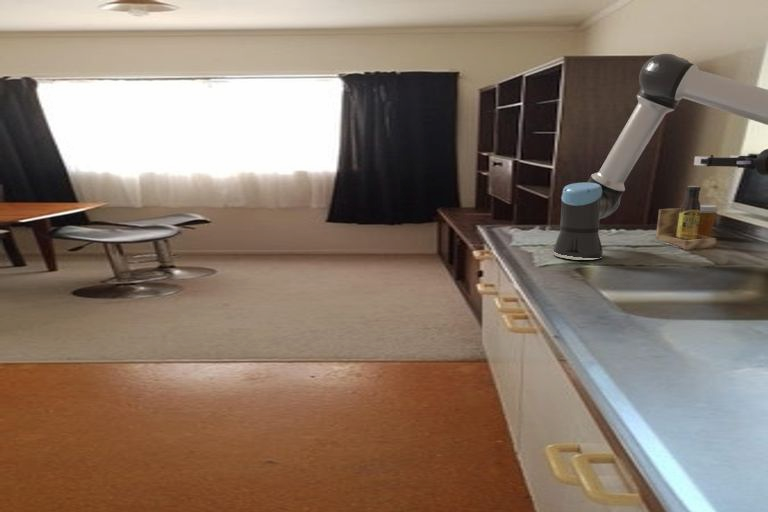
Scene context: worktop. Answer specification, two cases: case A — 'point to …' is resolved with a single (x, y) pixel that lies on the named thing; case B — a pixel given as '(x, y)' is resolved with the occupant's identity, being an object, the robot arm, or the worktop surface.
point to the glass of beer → (706, 219)
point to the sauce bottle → (689, 215)
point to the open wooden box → (669, 229)
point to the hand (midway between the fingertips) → (713, 160)
